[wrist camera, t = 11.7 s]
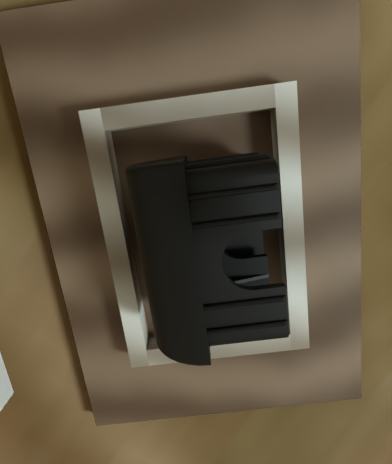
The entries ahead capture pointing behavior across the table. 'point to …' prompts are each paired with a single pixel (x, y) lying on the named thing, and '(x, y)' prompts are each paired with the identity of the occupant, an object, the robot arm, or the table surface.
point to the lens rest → (195, 148)
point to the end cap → (208, 251)
